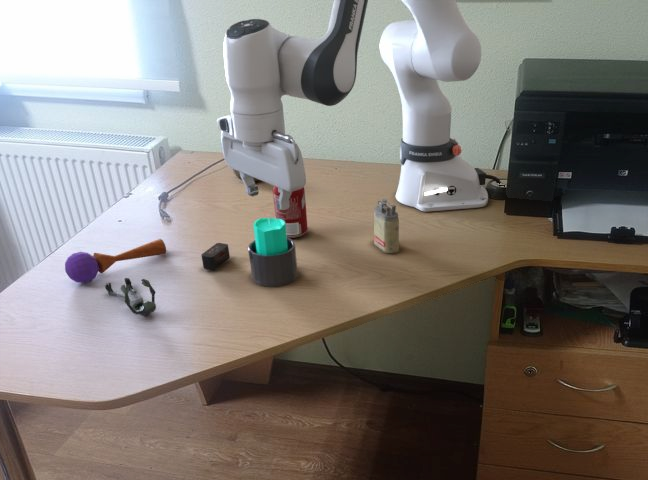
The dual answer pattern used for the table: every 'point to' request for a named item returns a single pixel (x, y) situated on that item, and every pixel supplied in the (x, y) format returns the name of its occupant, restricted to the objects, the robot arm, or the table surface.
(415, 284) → the table surface
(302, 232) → the soda can
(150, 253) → the kendama
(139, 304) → the zombie figurine
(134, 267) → the table surface
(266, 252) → the candle
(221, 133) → the robot arm
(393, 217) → the lighter
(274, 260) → the cup
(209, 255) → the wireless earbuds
